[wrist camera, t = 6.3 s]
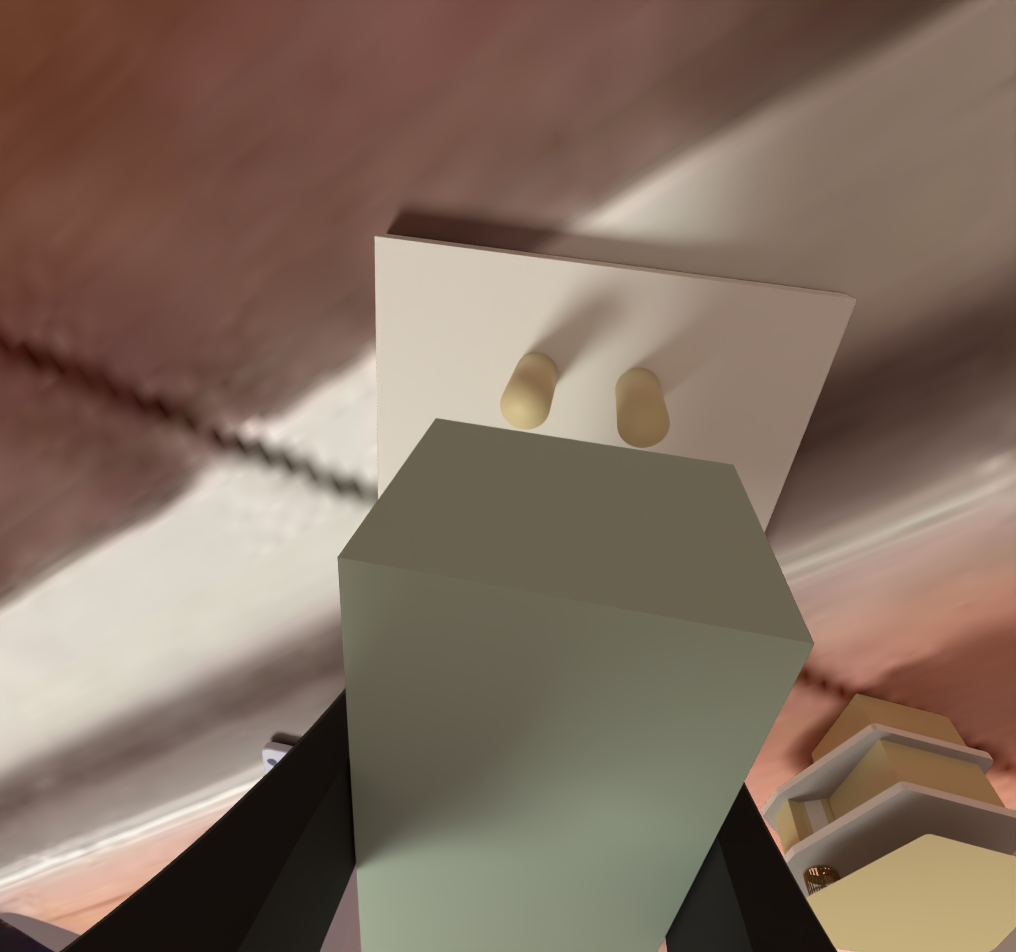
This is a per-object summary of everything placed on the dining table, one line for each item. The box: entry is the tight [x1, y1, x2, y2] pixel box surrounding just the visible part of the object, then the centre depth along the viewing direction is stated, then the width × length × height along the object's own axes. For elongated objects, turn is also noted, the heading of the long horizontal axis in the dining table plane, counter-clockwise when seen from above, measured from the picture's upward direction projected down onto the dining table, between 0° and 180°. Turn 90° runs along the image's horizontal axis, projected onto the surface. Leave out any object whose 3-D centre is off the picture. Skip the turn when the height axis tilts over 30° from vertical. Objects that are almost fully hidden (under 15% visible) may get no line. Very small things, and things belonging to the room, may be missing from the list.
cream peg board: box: [375, 234, 857, 533], centre depth 16 cm, size 14×12×3 cm
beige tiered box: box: [761, 693, 1016, 952], centre depth 19 cm, size 10×9×6 cm
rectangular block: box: [338, 418, 814, 952], centre depth 10 cm, size 10×5×4 cm, turn 174°
